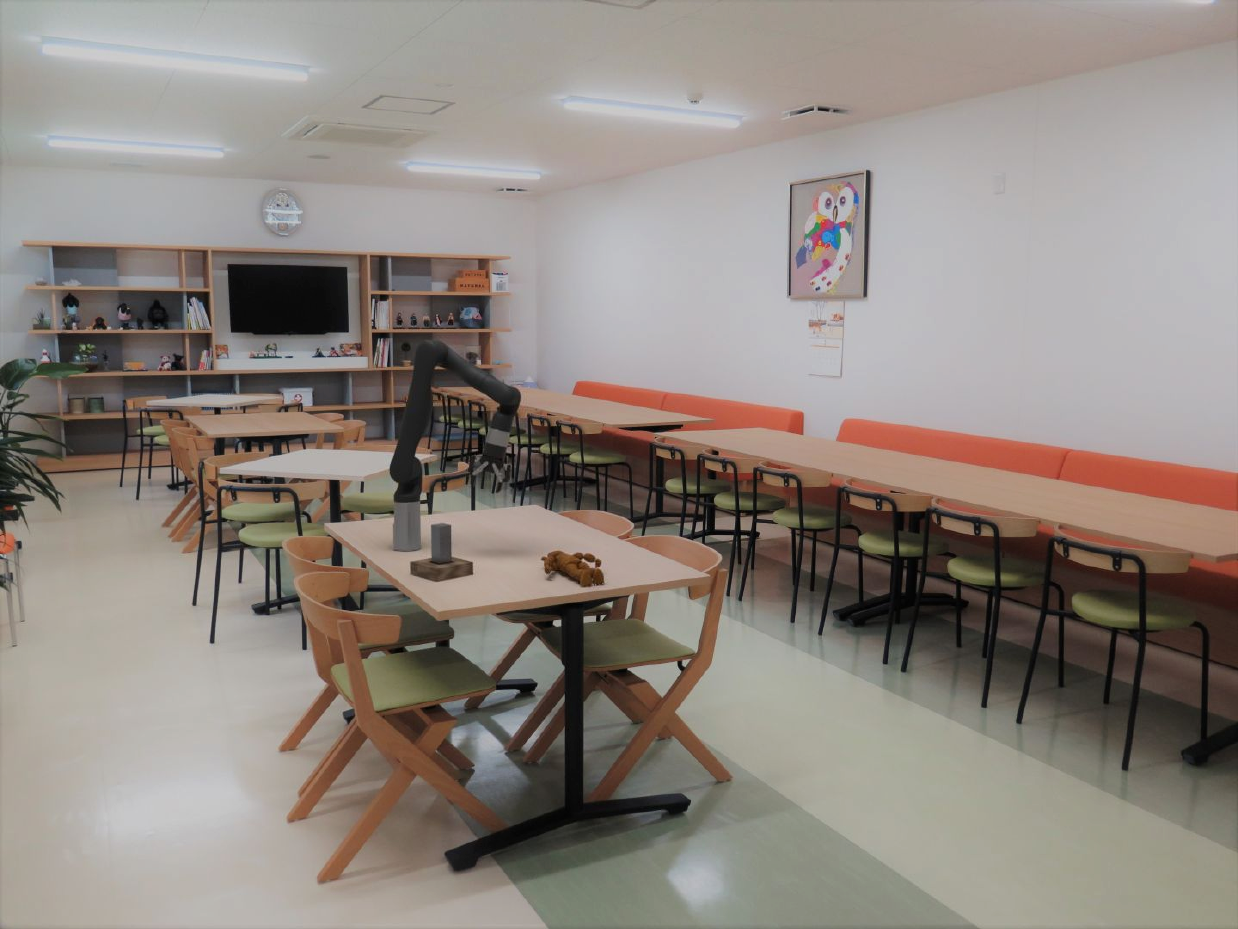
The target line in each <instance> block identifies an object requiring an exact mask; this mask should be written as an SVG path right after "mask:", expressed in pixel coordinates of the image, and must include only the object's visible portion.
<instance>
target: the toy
mask: <svg viewBox="0 0 1238 929" xmlns="http://www.w3.org/2000/svg"><path fill="white" fill-rule="evenodd" d="M546 556H547V557H546ZM546 556H542V557H541V558H540V560H541V561H542V562H543V566H544V573H545V574H546V575H549V574H551V572H552V571H562V572H564V573H565V574H567V575H568V576H570V577H571V578H574V579H575V580H577V581H580V587H581V588H584V587H586V586H587V587H591V586H590V585H592V586H596V585H595V584H600V585H602V584H601V583H604V584H605V576H604V574H603V571H602V569H601V568H600V567H601V566H602V560H601V559H600V558H596V556H595V555H594V554H592V553H587V552H586V553H582V552H575V553H574V554H573V553H572V554H569V553H566V552H564V551H561V550H553V551H550V552H548V554H547V555H546ZM583 559H584V561H583ZM588 563H590V564H591V563H594V564H595V565H594V567H590V565H589V564H588ZM593 584H594V585H593ZM588 585H589V586H588Z"/></svg>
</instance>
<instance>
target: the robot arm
mask: <svg viewBox="0 0 1238 929" xmlns="http://www.w3.org/2000/svg"><path fill="white" fill-rule="evenodd" d="M413 360H414V362H413V369H412V376H411V382H410V387H409V390H408V396H407V399H406V401H405V402H406V403H405V407H404V412H403V416H402V421H401V425H400V429H399V434H398V440H397V443H396V447H395V449H394V453H393V455H392V458H391V461H390V464H389V468H388V469H389V475H390V478H391V479H392V481H394V482H395V483H397V484H398V485H397V488H396V490H395V492H394V493H393V523H392V550H393V551H398V552H399V551H400V552H413V551H417V550H418V551H419V550H420V549H422V526H421V524H422V522H421V520H422V518H421V496H422V492H423V465H422V462H421V460H420V459H419V458H418V457H417V456H416V452H417V449H418V446H419V443H420V442H421V440H422V438H423V437H424V435H425V433H426V431H427V429H428V426H430V422H431V417H432V414H433V413H432V412H433V409H434V408H433V407H434V398H433V391H432V390H433V389H432V380H433V377H434V372H435V368H437V367H439V368H442V369H445V370H447V371H450V372H452V373H453V374H455V375H456V376H457V377H459V378H460V379H461V380H462V381H463V382H464V383H465V384H466V385H468V386H469V387H471V388H473V389H474V390H476V391H478V392H480V393H481V394H484V395H485V396H487V397H488V398H490V399H491V400H492V401H493V402H495V403H497V404H498V405H499V406H498V408H497V411H495V412H494V413H493V415H492V418H491V421H490V424H489V429H488V432H487V434H486V438H485V441H484V442H485V443H484V445H483V450H482V453H481V454H482V455H481V456H477V455H476V454H474V455H473V454H472V456H471V459H470V461H469V465H468V468H467V472H468V473H470V474H471V478H470V485H471V487H475V486H476V483H477V479H478V474H480V473H481V472H483V471H484V472H487V473H488V472H489V473H491V474H495V475H496V477H497V479H498V481H497V485H496V488H495V489H496V490H495V493H496V494H499V493H500V492H501V491H502V489H503V485H504V483H507V482H510V480H511V474H512V468H513V465H512V464H511V463H510V464H508V463H505V458H506V453H507V449H508V446H509V441H510V434H511V431H512V430H511V429H512V426H513V421H514V419H515V417H516V415H517V412H518V411H519V408H520V406H521V405H520V404H521V400H522V393H521V391H520V389H518V388H517V387H515V386H512V385H508V384H506V383H504V382H502V381H501V380H499V379H497V378H496V377H495V376H494V375H493V374H491V373H489V372H488V371H486V370H484V369H482V368H481V367H478V366H477V365H475V364H473V363H471V362H470V361H468V360H466V358H464V357H462V356H461V355H459V354H458V353H457V352H456V351H454V350H453V349H452V348H451V347H449V346H448V345H447V344H446V343H444V342H443V341H442V340H439V339H425V340H422V341H420V343H418V345H417V347H416V349H415V354H414V359H413ZM478 462H479V463H480V466H478V467H477V468H476V469H475V470H474V468H475V465H476V463H478ZM503 468H504V470H505V477H503V473H502V471H501V469H503Z"/></svg>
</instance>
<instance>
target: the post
mask: <svg viewBox="0 0 1238 929" xmlns="http://www.w3.org/2000/svg"><path fill="white" fill-rule="evenodd" d="M430 532H431V533H430V544H431V546H430V547H431V558H432V563H433V564H437V565H443V564H448V563H452V557H453V555H452V554H453V553H452V550H453V549H452V547H453V546H452V524H449V523H446V522H445V523H444V522H440V523H434V524H430Z"/></svg>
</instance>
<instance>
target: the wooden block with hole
mask: <svg viewBox="0 0 1238 929" xmlns="http://www.w3.org/2000/svg"><path fill="white" fill-rule="evenodd" d="M409 563H410V566H409V567H410V568H409V569H410V571H409V572H410V575H411V576H415V577H419V578H422V579H426V580H429V581H433V582H436V583H437V582H442V581H448V580H451V579H452V580H453V579H456V578H461V577H462V578H463V577H467V576H471V575H474V562H473V561H470V560H467V559H463V558H459V557H456V556H452V563H448V564H443V565H437V564H433V563H432V557H430V558H424V559H423V558H422V559H419V560H412V561H410V562H409Z"/></svg>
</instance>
